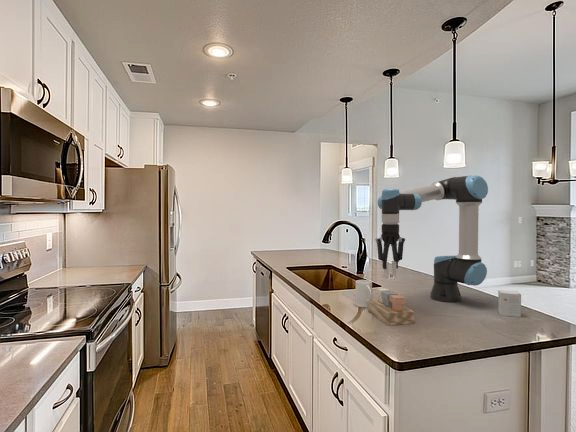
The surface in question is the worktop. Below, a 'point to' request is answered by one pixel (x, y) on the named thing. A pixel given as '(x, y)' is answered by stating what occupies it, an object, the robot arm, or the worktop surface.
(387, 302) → the slate key
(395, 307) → the terracotta key
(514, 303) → the small box
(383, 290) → the ivory key
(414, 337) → the worktop surface
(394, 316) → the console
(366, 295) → the mug
